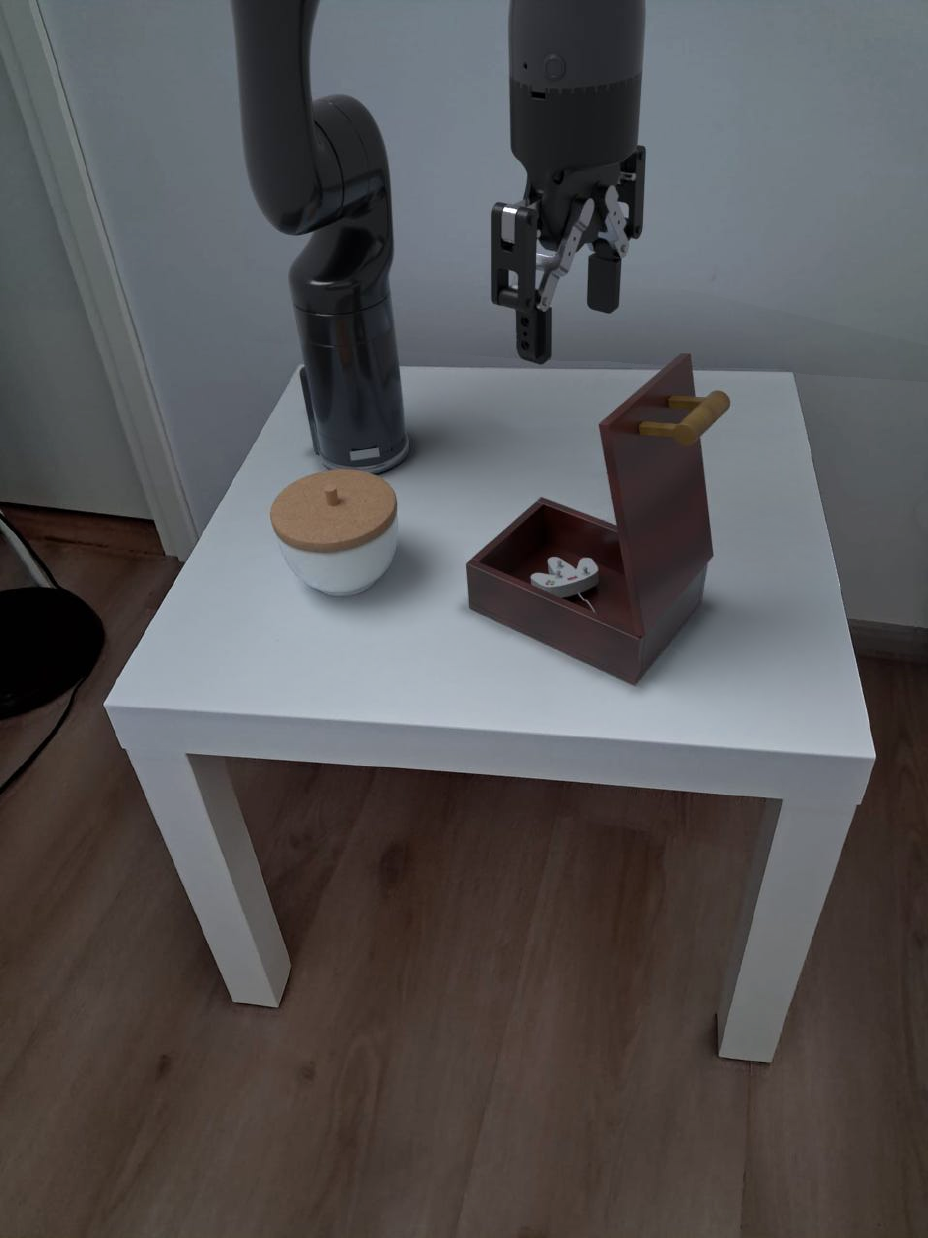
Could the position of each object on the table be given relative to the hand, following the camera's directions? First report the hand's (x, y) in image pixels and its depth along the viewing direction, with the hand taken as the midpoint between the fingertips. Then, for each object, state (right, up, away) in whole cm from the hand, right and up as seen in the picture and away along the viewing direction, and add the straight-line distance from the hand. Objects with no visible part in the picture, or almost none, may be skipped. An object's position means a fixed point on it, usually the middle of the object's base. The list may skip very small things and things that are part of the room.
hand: (569, 334), depth 64 cm
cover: (+7, -11, +3) cm, 13 cm away
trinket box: (-18, -16, +21) cm, 31 cm away
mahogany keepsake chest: (+3, -18, +15) cm, 24 cm away
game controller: (+2, -19, +14) cm, 24 cm away
